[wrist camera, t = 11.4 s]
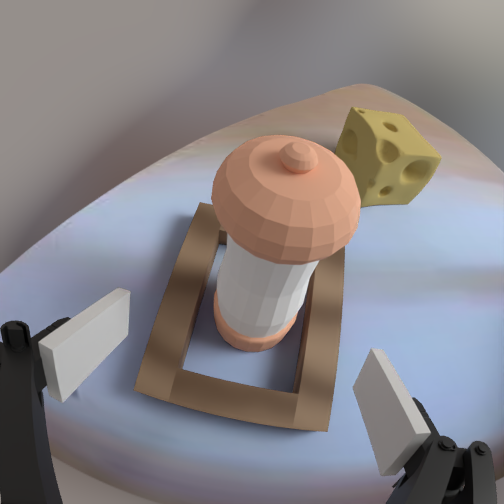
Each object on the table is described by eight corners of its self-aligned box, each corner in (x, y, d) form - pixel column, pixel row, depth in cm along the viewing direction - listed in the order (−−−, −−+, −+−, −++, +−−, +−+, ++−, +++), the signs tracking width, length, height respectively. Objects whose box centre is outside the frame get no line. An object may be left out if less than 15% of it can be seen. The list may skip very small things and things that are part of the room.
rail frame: (317, 430, 21) (327, 431, 19) (141, 392, 22) (133, 390, 20) (337, 247, 32) (344, 234, 30) (200, 216, 33) (199, 202, 30)
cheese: (357, 209, 36) (388, 152, 27) (328, 156, 41) (347, 102, 33) (412, 206, 38) (445, 159, 29) (381, 158, 43) (404, 111, 35)
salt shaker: (206, 343, 25) (182, 195, 9) (222, 274, 29) (231, 94, 13) (285, 358, 25) (398, 239, 9) (293, 288, 29) (371, 125, 13)
